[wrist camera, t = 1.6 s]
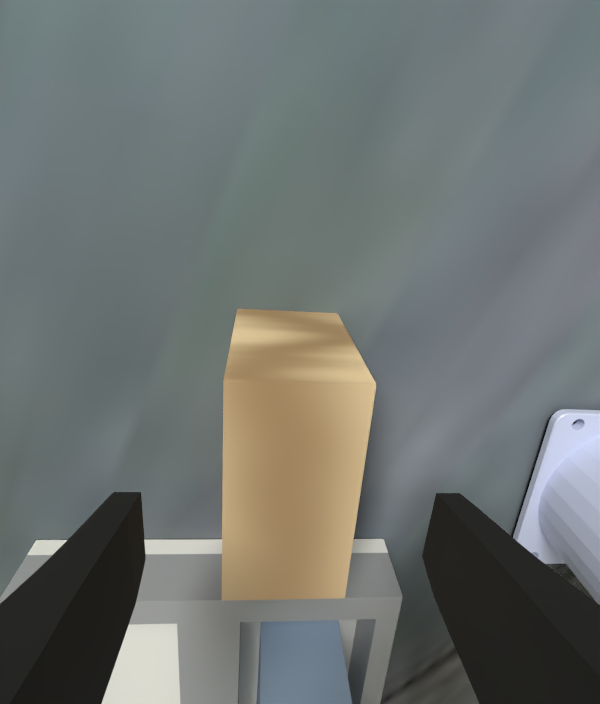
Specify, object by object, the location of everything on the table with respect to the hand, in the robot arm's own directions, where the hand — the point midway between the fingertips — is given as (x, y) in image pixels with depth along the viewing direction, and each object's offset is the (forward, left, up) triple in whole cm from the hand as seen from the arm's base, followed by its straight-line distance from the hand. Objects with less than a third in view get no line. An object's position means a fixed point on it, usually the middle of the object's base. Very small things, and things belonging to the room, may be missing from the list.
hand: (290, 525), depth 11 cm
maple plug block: (0, 0, -7) cm, 7 cm away
